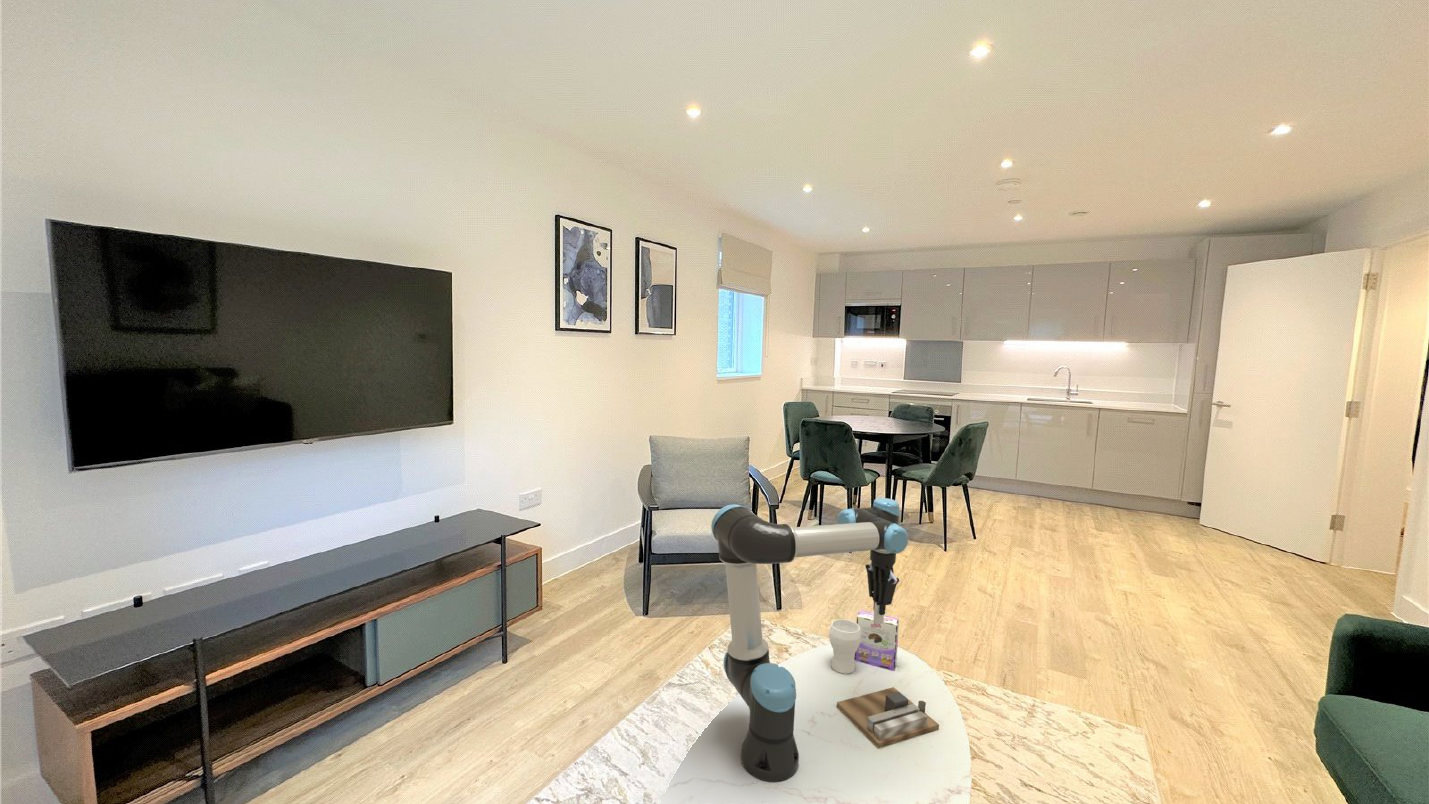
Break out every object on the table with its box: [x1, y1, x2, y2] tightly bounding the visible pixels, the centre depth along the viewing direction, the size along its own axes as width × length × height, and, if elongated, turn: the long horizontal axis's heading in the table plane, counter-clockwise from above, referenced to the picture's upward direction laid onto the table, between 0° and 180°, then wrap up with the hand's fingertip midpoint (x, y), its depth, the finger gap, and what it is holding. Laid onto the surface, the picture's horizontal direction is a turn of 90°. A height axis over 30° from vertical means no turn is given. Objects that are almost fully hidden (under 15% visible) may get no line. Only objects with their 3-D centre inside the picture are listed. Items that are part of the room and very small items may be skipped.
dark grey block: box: [885, 691, 908, 711], centre depth 165 cm, size 5×4×4 cm
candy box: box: [854, 609, 900, 671], centre depth 193 cm, size 14×6×16 cm, turn 65°
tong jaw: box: [867, 703, 920, 732], centre depth 159 cm, size 17×2×3 cm, turn 113°
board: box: [836, 686, 940, 750], centre depth 164 cm, size 22×19×6 cm
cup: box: [828, 618, 861, 675], centre depth 189 cm, size 11×11×15 cm
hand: (878, 622), depth 172 cm, fingers closed
